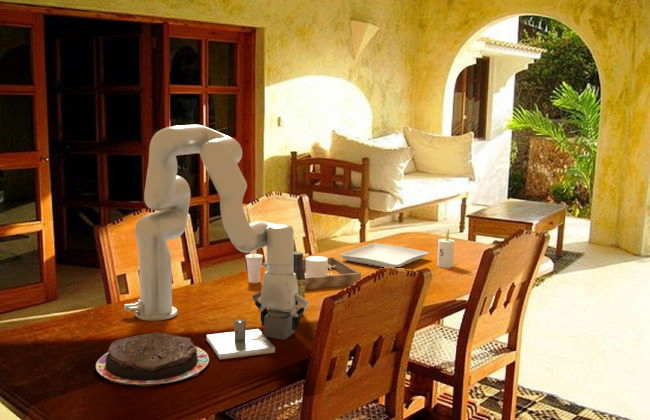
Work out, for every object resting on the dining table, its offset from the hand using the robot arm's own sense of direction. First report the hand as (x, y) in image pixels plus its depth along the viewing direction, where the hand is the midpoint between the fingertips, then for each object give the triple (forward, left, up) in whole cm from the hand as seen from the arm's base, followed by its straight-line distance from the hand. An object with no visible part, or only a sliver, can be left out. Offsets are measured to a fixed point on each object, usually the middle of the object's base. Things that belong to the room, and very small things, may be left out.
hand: (280, 326), depth 201 cm
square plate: (+69, +69, -3) cm, 98 cm away
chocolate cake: (-37, -10, -3) cm, 39 cm away
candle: (+88, +53, -3) cm, 103 cm away
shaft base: (-13, -5, -2) cm, 14 cm away
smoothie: (+9, +55, -3) cm, 56 cm away
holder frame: (+32, +53, -2) cm, 62 cm away
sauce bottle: (+10, +15, -3) cm, 18 cm away
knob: (0, 0, -2) cm, 2 cm away
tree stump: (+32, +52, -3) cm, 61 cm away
